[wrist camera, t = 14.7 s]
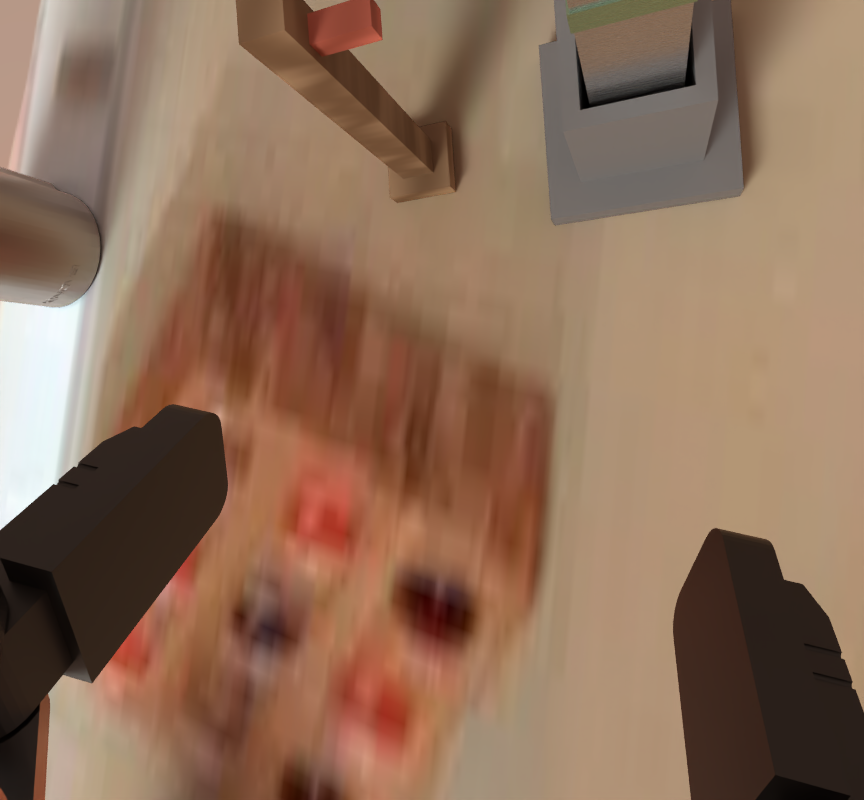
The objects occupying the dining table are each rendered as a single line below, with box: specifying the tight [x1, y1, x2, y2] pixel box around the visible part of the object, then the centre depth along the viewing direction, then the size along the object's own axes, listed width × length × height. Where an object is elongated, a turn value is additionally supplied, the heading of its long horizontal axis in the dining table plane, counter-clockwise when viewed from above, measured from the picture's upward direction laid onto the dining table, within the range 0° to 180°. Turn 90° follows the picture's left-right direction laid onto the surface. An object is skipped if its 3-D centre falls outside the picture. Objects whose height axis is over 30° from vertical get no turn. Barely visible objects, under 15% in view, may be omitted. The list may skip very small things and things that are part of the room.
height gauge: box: [236, 0, 456, 203], centre depth 31 cm, size 6×4×18 cm
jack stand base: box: [539, 0, 744, 225], centre depth 31 cm, size 10×10×9 cm
